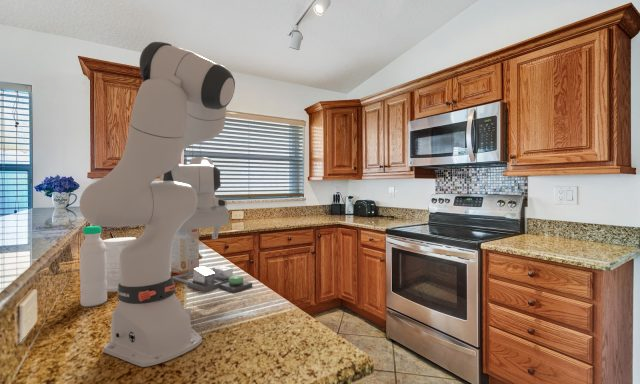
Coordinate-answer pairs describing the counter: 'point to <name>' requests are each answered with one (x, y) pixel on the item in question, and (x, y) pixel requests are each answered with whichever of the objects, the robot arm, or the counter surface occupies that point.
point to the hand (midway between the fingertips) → (203, 240)
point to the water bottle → (93, 268)
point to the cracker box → (185, 253)
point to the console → (235, 286)
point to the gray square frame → (182, 276)
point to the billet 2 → (222, 273)
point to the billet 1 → (203, 276)
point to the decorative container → (114, 260)
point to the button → (235, 280)
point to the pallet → (206, 288)
